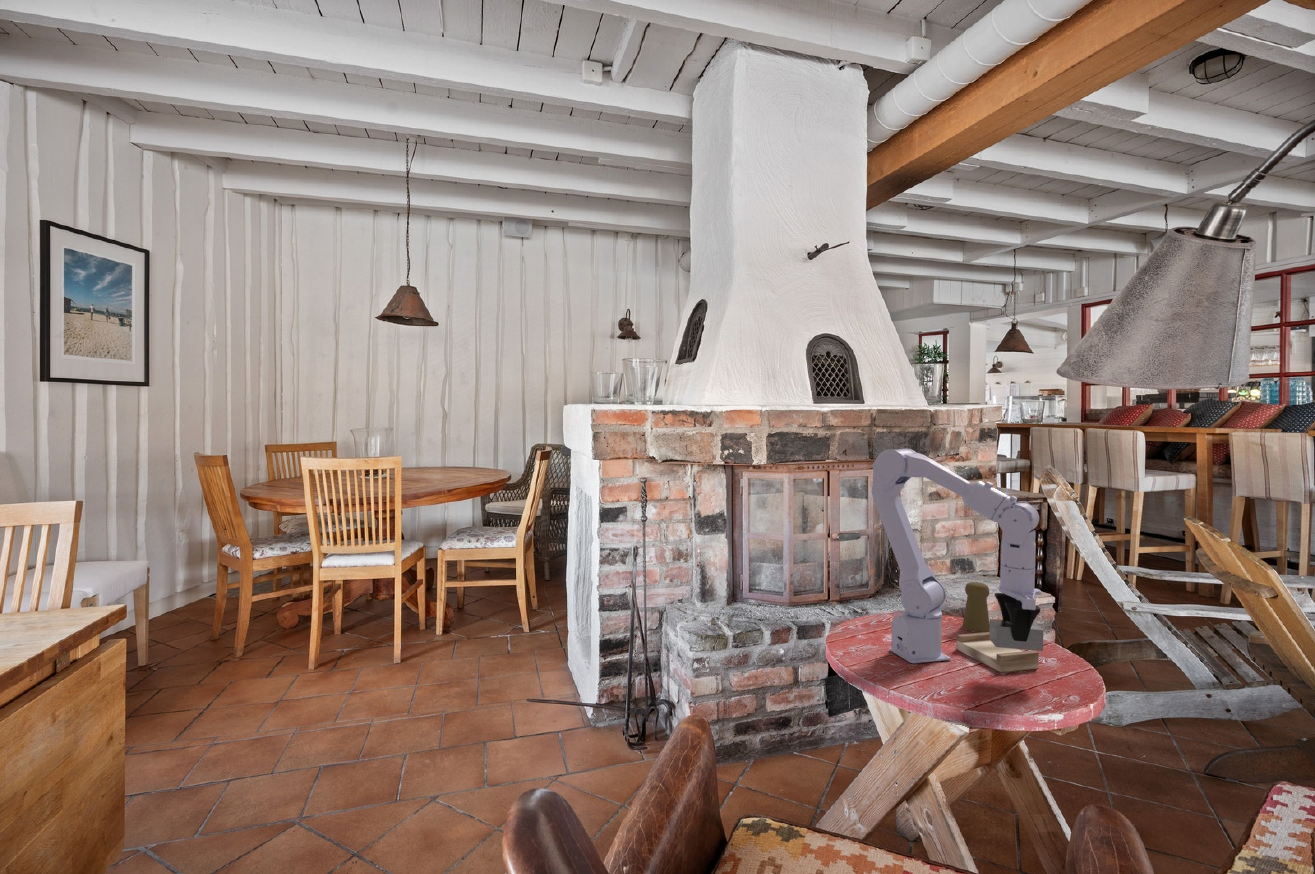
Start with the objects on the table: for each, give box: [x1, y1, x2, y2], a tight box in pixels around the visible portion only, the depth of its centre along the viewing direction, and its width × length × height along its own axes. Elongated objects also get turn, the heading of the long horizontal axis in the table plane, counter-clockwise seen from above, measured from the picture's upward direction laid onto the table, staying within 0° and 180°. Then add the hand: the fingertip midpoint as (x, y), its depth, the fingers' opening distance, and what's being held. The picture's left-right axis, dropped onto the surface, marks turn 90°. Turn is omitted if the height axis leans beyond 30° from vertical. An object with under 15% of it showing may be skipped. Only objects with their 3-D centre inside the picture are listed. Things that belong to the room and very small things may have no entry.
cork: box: [961, 581, 990, 633], centre depth 148 cm, size 6×6×11 cm
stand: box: [956, 632, 1040, 673], centre depth 130 cm, size 12×9×3 cm
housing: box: [989, 618, 1044, 652], centre depth 119 cm, size 8×5×4 cm, turn 76°
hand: (1015, 635), depth 119 cm, fingers closed on housing, 5 cm apart
